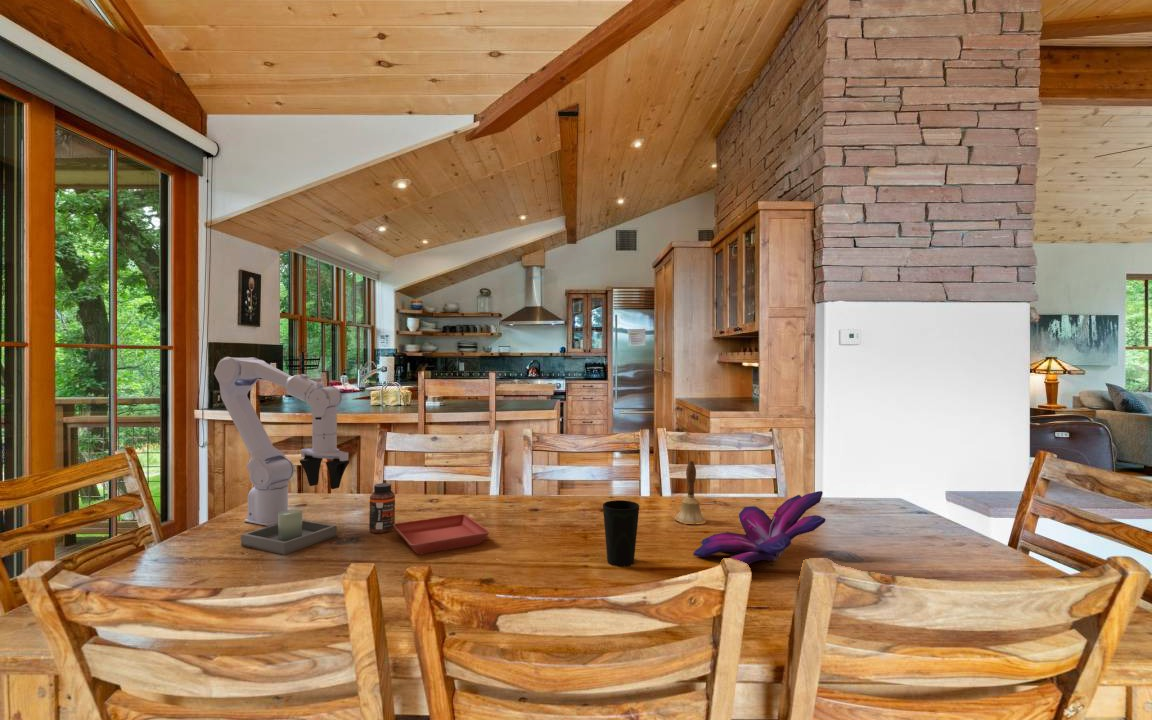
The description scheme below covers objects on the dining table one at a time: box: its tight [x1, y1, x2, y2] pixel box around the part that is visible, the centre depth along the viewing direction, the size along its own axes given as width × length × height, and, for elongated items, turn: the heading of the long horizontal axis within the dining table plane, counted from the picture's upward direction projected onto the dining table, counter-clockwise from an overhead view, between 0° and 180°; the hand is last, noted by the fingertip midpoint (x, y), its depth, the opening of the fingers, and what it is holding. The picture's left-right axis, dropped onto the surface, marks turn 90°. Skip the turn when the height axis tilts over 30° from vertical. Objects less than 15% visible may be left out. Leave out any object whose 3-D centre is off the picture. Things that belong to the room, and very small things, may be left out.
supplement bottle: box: [368, 482, 396, 534], centre depth 135 cm, size 6×6×11 cm
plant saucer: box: [393, 513, 490, 555], centre depth 128 cm, size 18×18×3 cm
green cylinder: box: [277, 509, 303, 542], centre depth 127 cm, size 5×5×6 cm
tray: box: [240, 519, 338, 556], centre depth 127 cm, size 14×14×2 cm
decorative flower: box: [692, 490, 827, 566], centre depth 116 cm, size 31×31×10 cm
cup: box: [602, 499, 640, 568], centre depth 115 cm, size 8×8×12 cm
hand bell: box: [674, 460, 707, 524], centre depth 145 cm, size 8×8×16 cm
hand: (324, 486), depth 140 cm, fingers open, 7 cm apart
